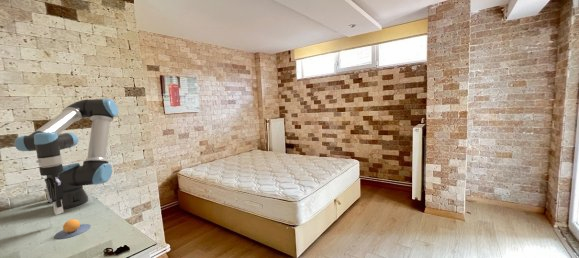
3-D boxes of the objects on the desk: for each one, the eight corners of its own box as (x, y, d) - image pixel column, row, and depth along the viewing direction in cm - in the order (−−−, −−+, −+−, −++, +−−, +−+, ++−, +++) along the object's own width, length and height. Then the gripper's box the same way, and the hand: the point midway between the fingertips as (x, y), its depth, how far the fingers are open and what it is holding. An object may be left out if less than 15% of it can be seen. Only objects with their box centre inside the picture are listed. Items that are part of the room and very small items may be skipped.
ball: (69, 231, 105) (66, 219, 104) (83, 227, 106) (81, 216, 106) (61, 236, 99) (58, 224, 99) (76, 232, 101) (74, 220, 101)
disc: (64, 227, 107) (64, 227, 107) (95, 222, 111) (95, 222, 111) (46, 241, 96) (46, 241, 96) (82, 235, 99) (82, 235, 99)
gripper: (34, 166, 107) (42, 214, 110) (45, 169, 101) (54, 219, 104) (55, 162, 113) (63, 207, 116) (67, 164, 107) (75, 212, 110)
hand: (59, 213), depth 110 cm, fingers closed
